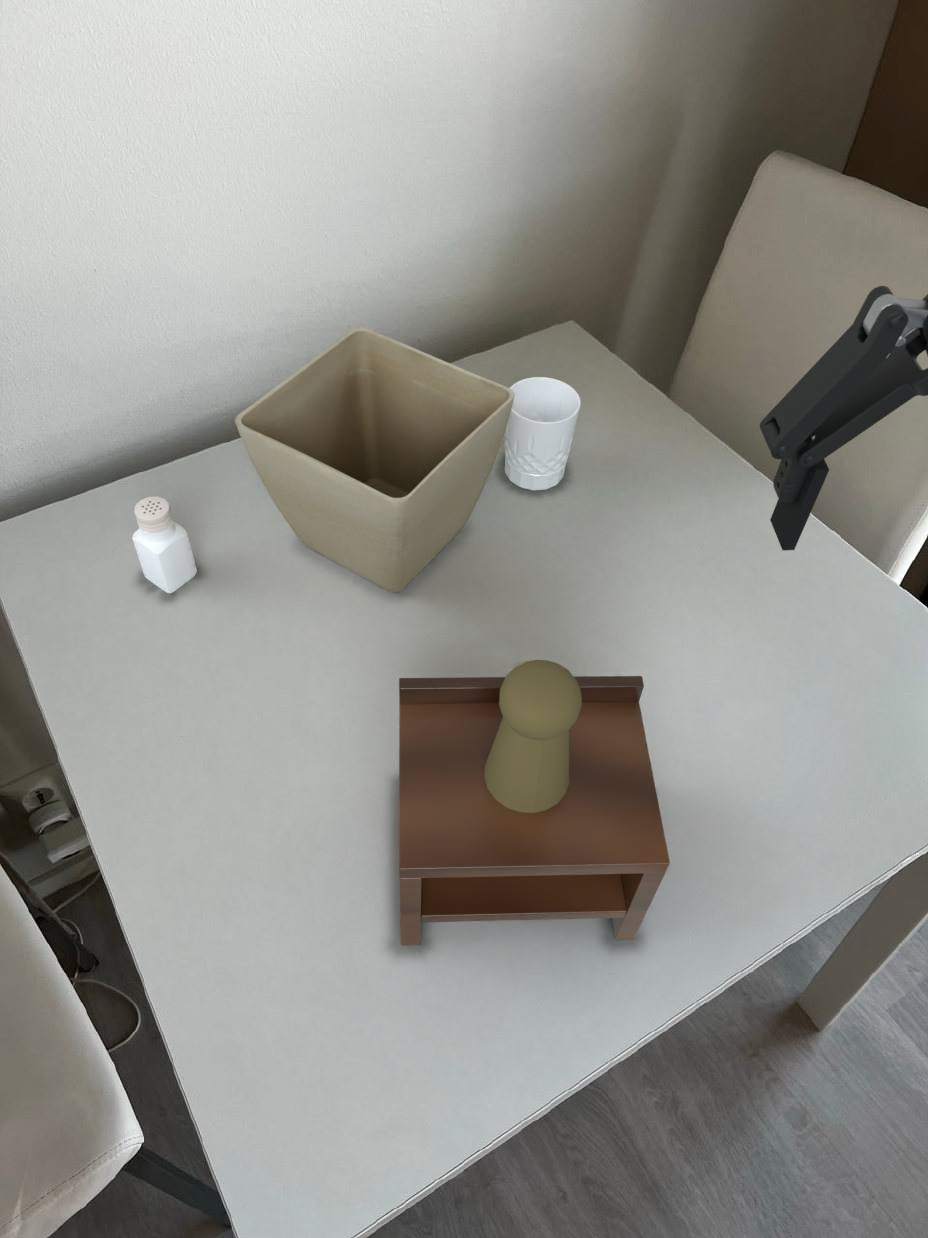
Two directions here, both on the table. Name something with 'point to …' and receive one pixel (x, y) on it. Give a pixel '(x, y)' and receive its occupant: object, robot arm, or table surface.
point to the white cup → (540, 432)
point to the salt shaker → (162, 545)
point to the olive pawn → (533, 737)
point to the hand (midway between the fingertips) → (886, 532)
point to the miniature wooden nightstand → (525, 842)
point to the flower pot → (377, 452)
